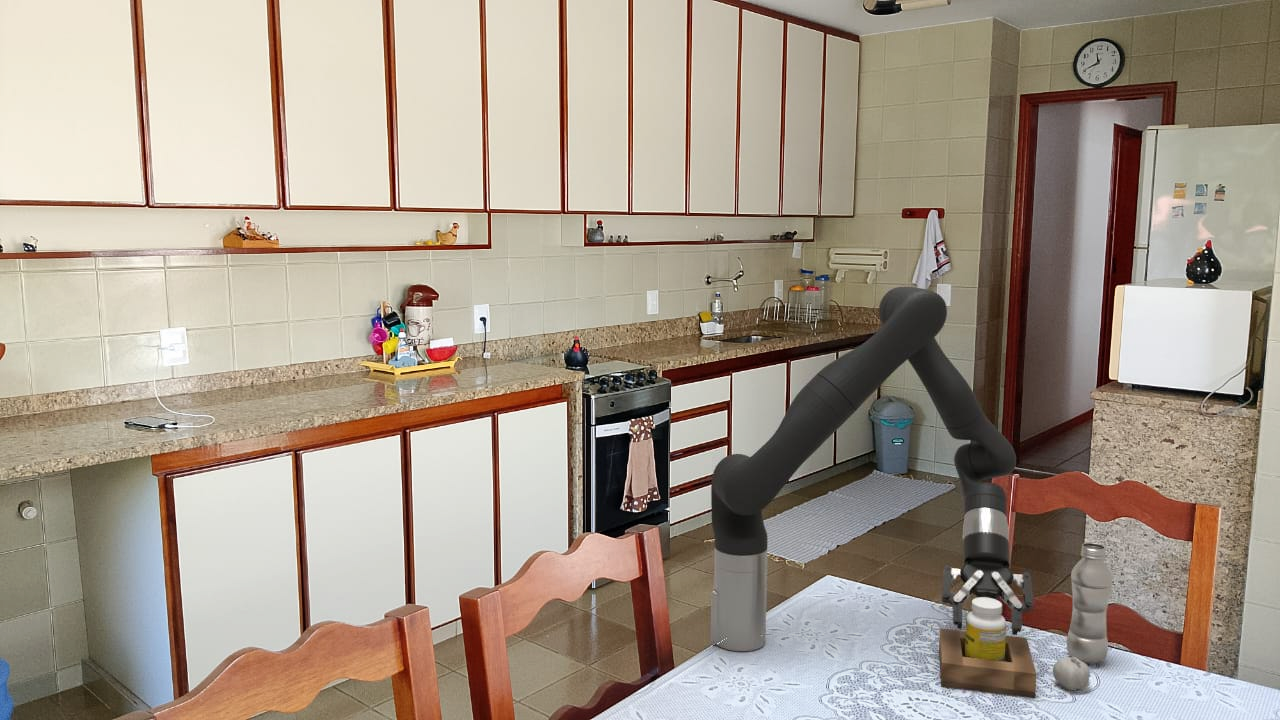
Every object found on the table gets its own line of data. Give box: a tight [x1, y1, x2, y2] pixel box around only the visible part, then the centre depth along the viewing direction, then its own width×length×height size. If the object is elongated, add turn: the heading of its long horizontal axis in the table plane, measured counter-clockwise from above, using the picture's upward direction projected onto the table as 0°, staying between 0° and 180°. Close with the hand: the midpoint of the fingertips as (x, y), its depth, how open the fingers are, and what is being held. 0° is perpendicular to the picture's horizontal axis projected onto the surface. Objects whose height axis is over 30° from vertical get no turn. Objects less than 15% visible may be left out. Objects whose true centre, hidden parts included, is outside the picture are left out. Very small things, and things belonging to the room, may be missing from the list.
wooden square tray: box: [938, 627, 1037, 699], centre depth 157 cm, size 14×14×4 cm
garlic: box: [1052, 656, 1091, 691], centre depth 153 cm, size 6×5×5 cm
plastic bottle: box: [1065, 542, 1113, 665], centre depth 161 cm, size 6×7×20 cm
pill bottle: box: [965, 597, 1007, 662], centre depth 157 cm, size 6×6×11 cm
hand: (987, 630), depth 156 cm, fingers open, 8 cm apart
